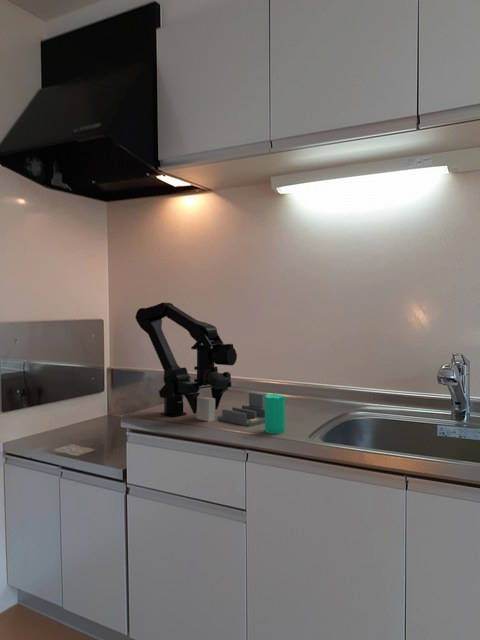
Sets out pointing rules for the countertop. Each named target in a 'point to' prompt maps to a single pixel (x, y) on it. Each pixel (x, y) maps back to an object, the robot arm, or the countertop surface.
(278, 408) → the candle
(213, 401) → the block
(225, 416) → the rack
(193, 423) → the countertop surface
